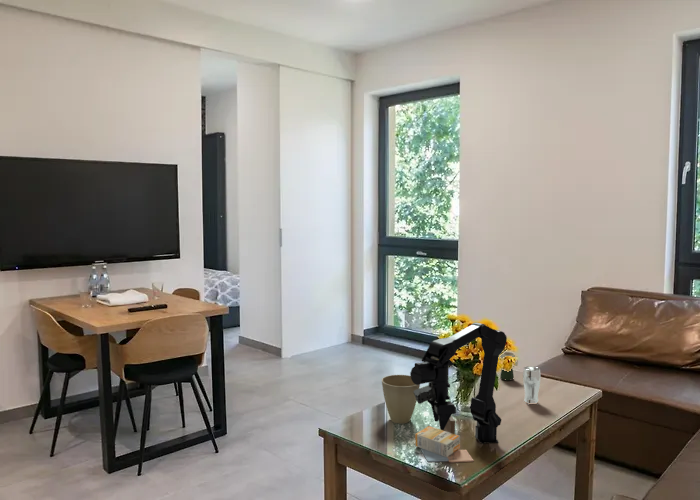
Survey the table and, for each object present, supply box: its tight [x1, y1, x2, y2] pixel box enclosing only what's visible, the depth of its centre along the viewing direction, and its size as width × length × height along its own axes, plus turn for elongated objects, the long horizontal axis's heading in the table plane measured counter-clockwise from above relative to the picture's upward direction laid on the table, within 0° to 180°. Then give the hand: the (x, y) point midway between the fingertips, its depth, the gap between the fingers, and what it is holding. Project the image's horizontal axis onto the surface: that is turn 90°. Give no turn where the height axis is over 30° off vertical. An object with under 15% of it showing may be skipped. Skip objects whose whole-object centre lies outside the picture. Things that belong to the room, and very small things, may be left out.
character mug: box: [499, 351, 519, 381], centre depth 264 cm, size 11×7×13 cm, turn 43°
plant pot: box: [381, 374, 421, 425], centre depth 213 cm, size 15×15×16 cm
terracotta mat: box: [447, 449, 474, 463], centre depth 182 cm, size 8×8×1 cm
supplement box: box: [414, 425, 461, 457], centre depth 187 cm, size 8×5×13 cm
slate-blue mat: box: [420, 448, 455, 463], centre depth 183 cm, size 10×10×1 cm
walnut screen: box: [443, 415, 456, 435], centre depth 195 cm, size 5×12×9 cm, turn 6°
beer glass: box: [522, 365, 541, 403], centre depth 232 cm, size 7×7×15 cm
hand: (439, 425), depth 182 cm, fingers open, 7 cm apart
